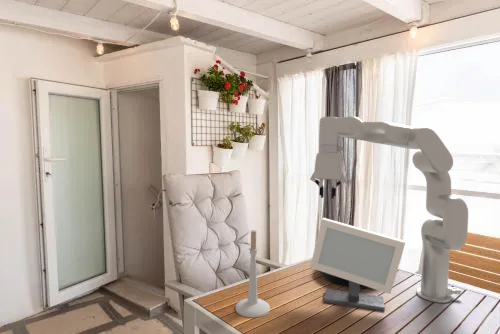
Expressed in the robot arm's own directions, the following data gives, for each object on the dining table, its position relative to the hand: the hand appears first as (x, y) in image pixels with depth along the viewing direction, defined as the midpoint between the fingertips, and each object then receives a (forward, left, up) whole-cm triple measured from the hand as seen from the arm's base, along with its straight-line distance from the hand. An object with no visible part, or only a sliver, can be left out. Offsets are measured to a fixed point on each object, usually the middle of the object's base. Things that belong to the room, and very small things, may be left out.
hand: (327, 197), depth 127 cm
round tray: (-15, -27, -42) cm, 52 cm away
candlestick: (+27, +10, -41) cm, 51 cm away
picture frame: (-9, +2, -31) cm, 32 cm away
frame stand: (-11, -2, -41) cm, 43 cm away
